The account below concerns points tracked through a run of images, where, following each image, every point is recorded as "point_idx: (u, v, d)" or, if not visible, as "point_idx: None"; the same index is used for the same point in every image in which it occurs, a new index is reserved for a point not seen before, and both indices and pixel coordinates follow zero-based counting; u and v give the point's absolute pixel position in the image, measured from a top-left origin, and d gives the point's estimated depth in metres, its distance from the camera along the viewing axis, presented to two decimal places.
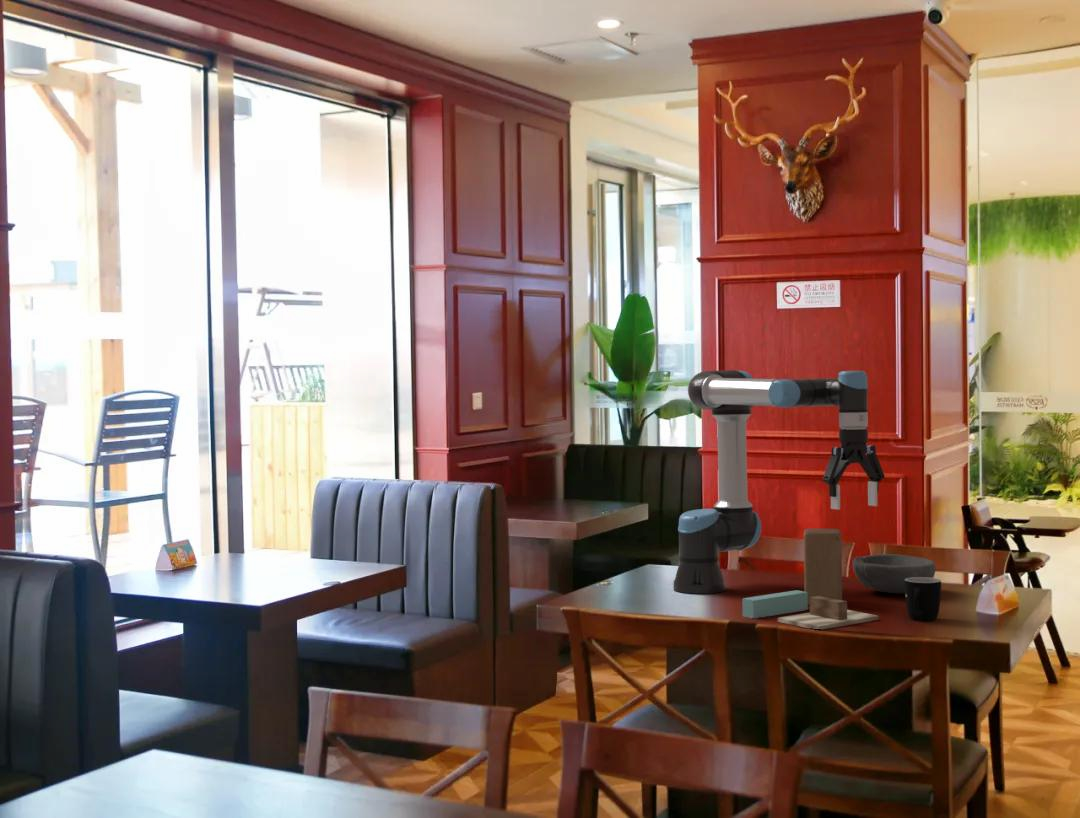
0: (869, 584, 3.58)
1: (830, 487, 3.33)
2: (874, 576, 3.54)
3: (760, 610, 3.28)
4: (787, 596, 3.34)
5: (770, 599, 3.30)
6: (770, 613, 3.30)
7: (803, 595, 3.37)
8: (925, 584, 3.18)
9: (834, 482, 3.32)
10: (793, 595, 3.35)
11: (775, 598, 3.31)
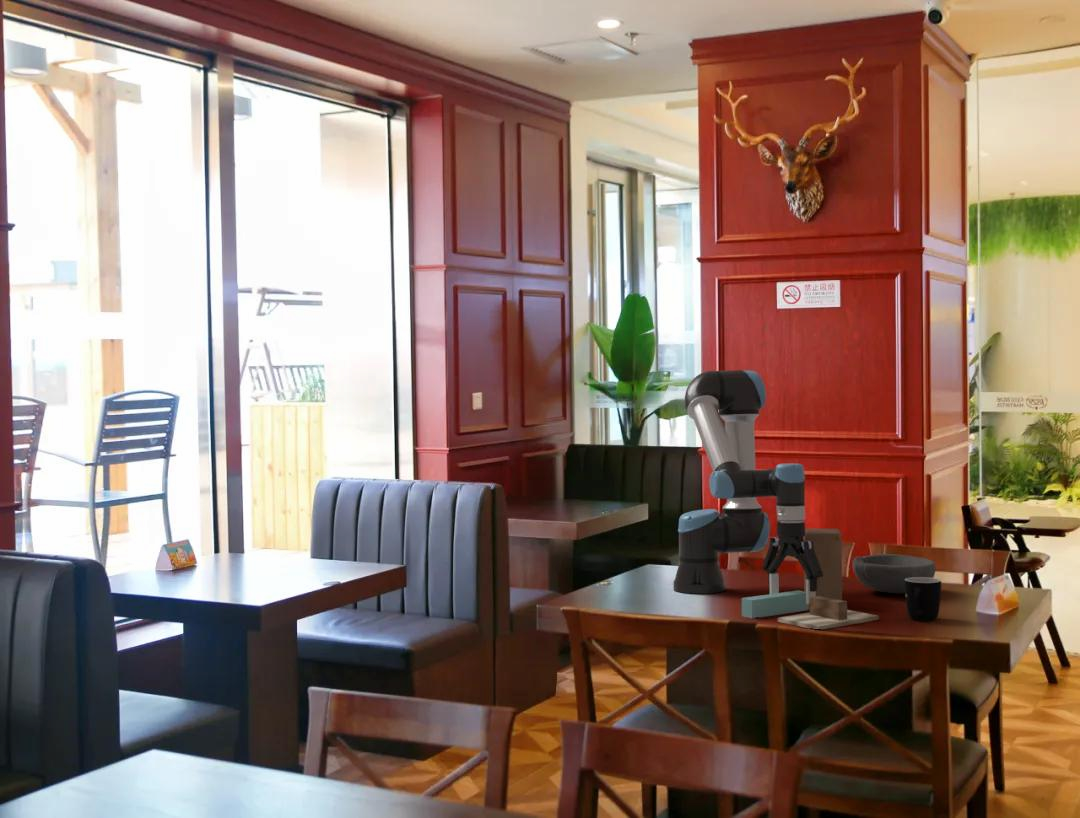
0: (869, 584, 3.58)
1: None
2: (874, 576, 3.54)
3: (759, 609, 3.28)
4: (787, 596, 3.34)
5: (769, 599, 3.30)
6: (769, 613, 3.30)
7: (804, 595, 3.37)
8: (925, 584, 3.18)
9: (767, 570, 3.43)
10: (793, 595, 3.35)
11: (775, 598, 3.31)
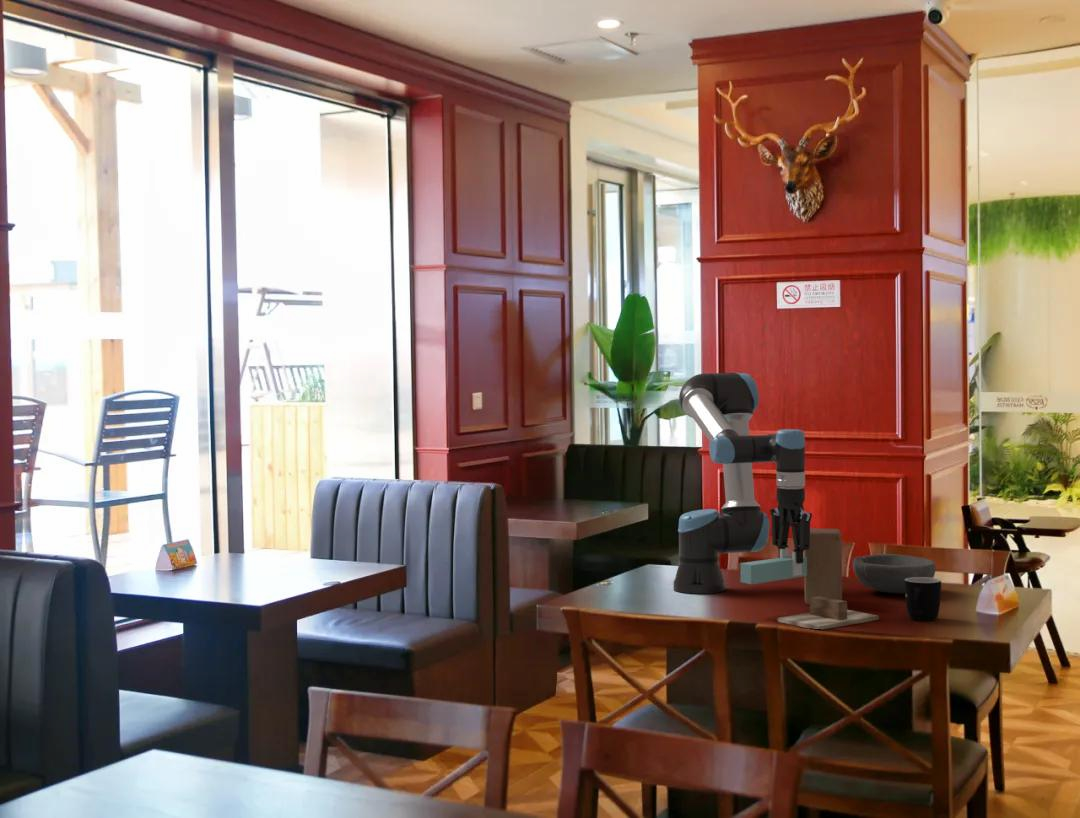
0: (869, 584, 3.58)
1: None
2: (874, 576, 3.54)
3: (758, 574, 3.29)
4: (786, 561, 3.34)
5: (768, 564, 3.30)
6: (768, 578, 3.31)
7: None
8: (925, 584, 3.18)
9: (778, 546, 3.40)
10: None
11: (773, 563, 3.31)
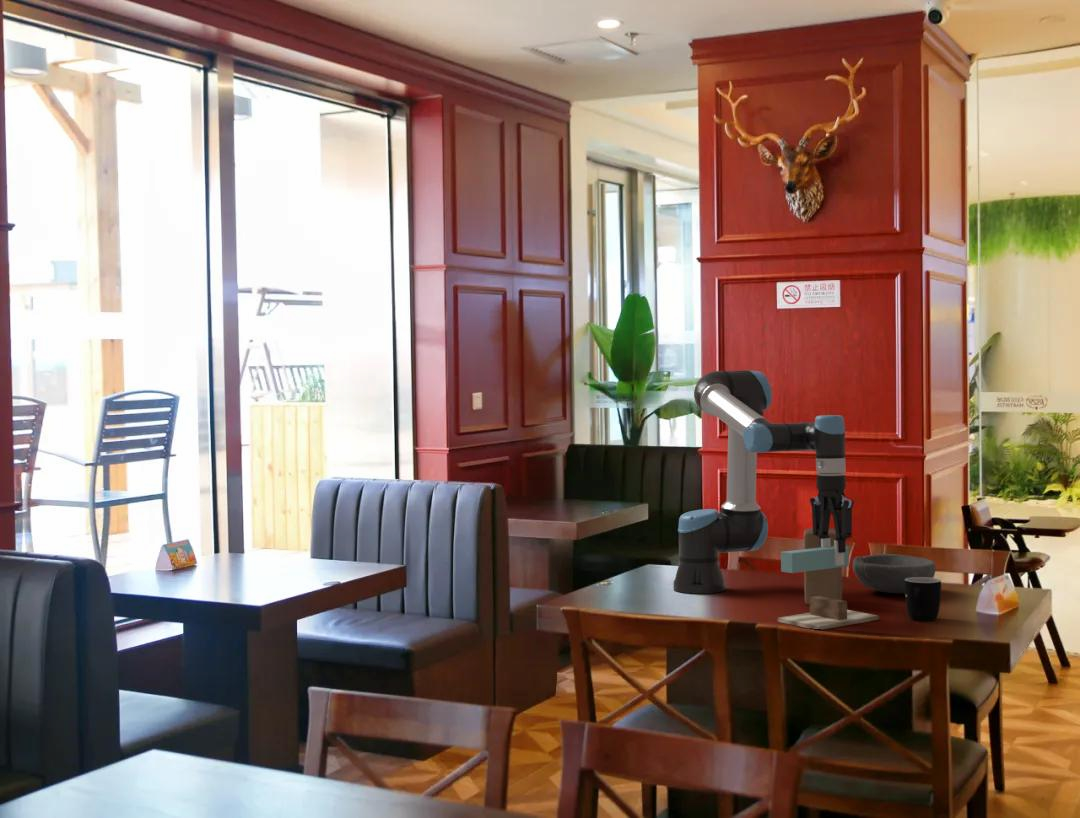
0: (869, 584, 3.58)
1: None
2: (874, 576, 3.54)
3: (799, 563, 3.18)
4: (827, 550, 3.24)
5: (810, 552, 3.20)
6: (809, 567, 3.20)
7: None
8: (925, 584, 3.18)
9: (818, 536, 3.30)
10: (833, 549, 3.25)
11: (815, 552, 3.21)
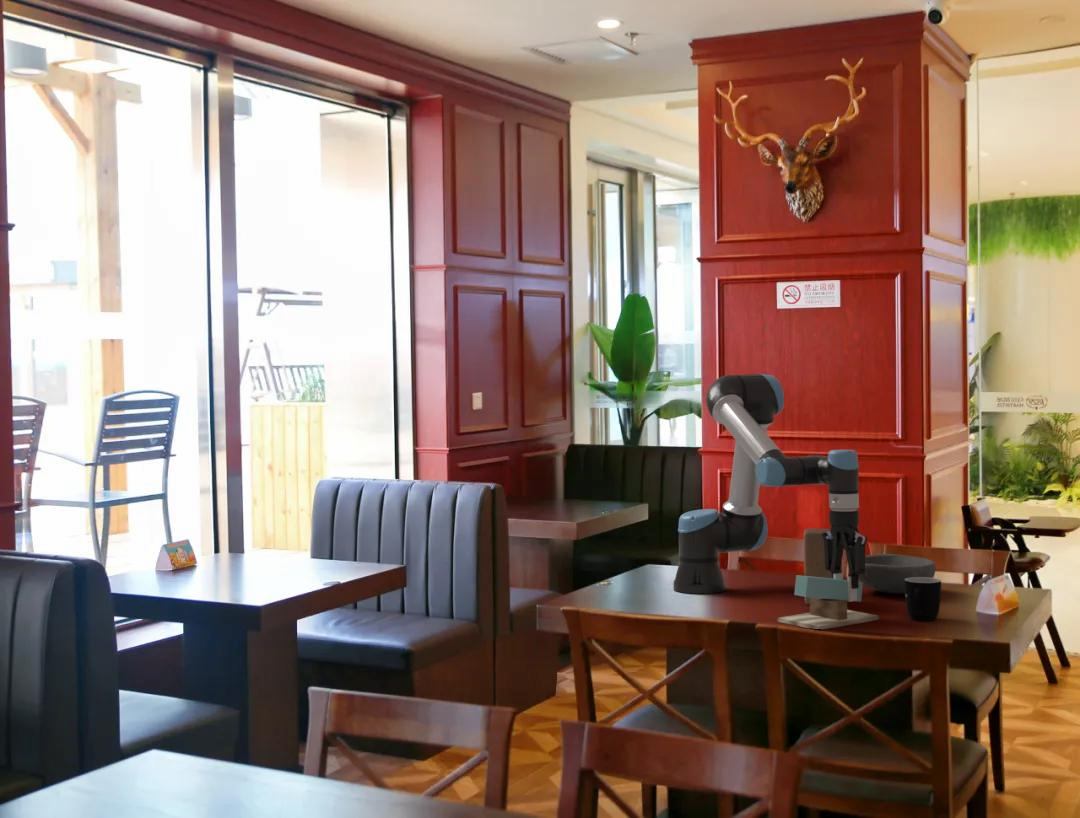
0: (869, 584, 3.58)
1: None
2: (874, 576, 3.54)
3: (813, 588, 3.17)
4: (842, 581, 3.22)
5: (825, 580, 3.19)
6: (823, 595, 3.18)
7: None
8: (925, 584, 3.18)
9: (831, 571, 3.28)
10: None
11: (830, 580, 3.20)
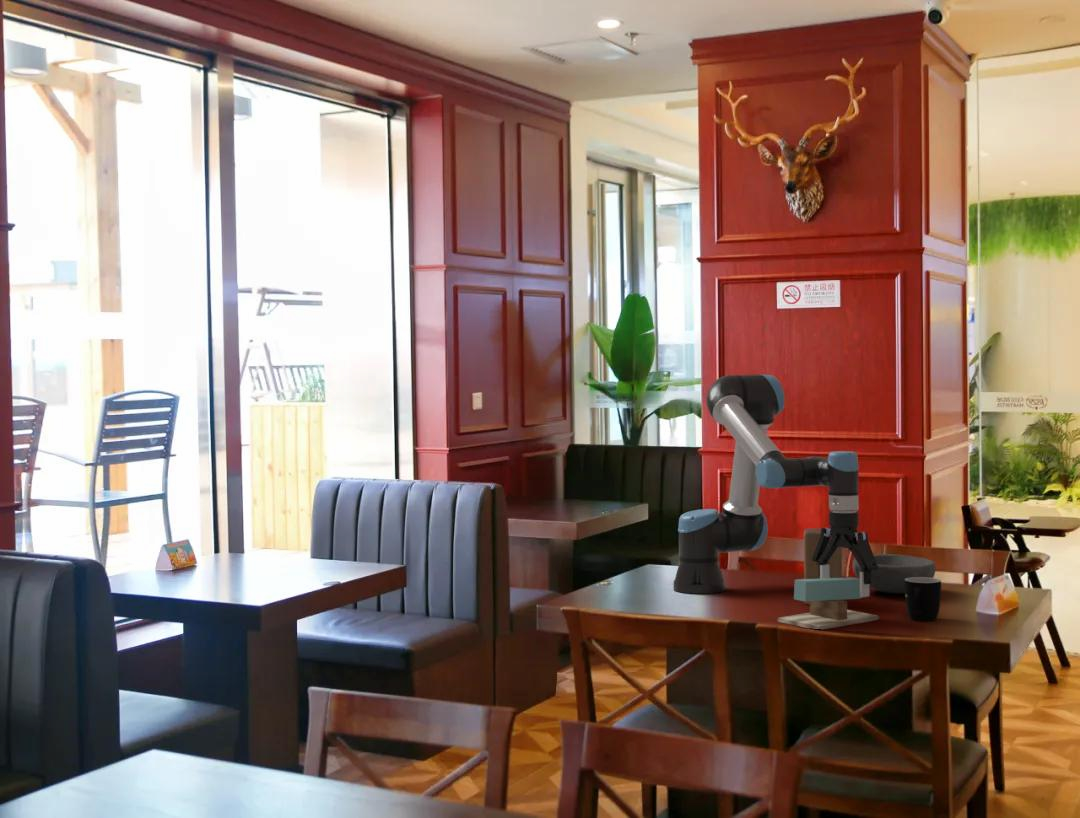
0: (869, 584, 3.58)
1: None
2: (874, 576, 3.54)
3: (812, 592, 3.16)
4: (841, 581, 3.22)
5: (823, 582, 3.18)
6: (822, 597, 3.18)
7: (857, 582, 3.25)
8: (925, 584, 3.18)
9: (817, 562, 3.32)
10: (847, 581, 3.23)
11: (829, 581, 3.19)
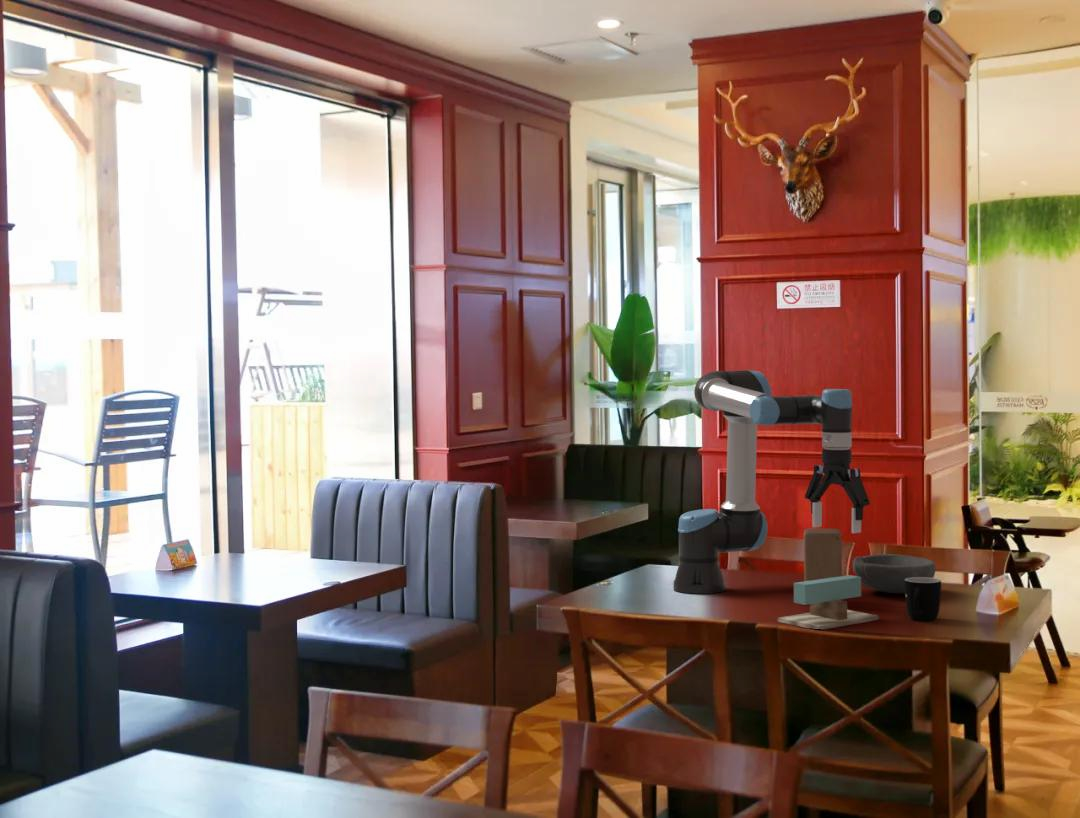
0: (869, 584, 3.58)
1: None
2: (874, 576, 3.54)
3: (812, 595, 3.16)
4: (840, 581, 3.22)
5: (822, 584, 3.18)
6: (822, 598, 3.18)
7: (856, 580, 3.25)
8: (925, 584, 3.18)
9: (810, 499, 3.34)
10: (846, 580, 3.23)
11: (828, 583, 3.19)
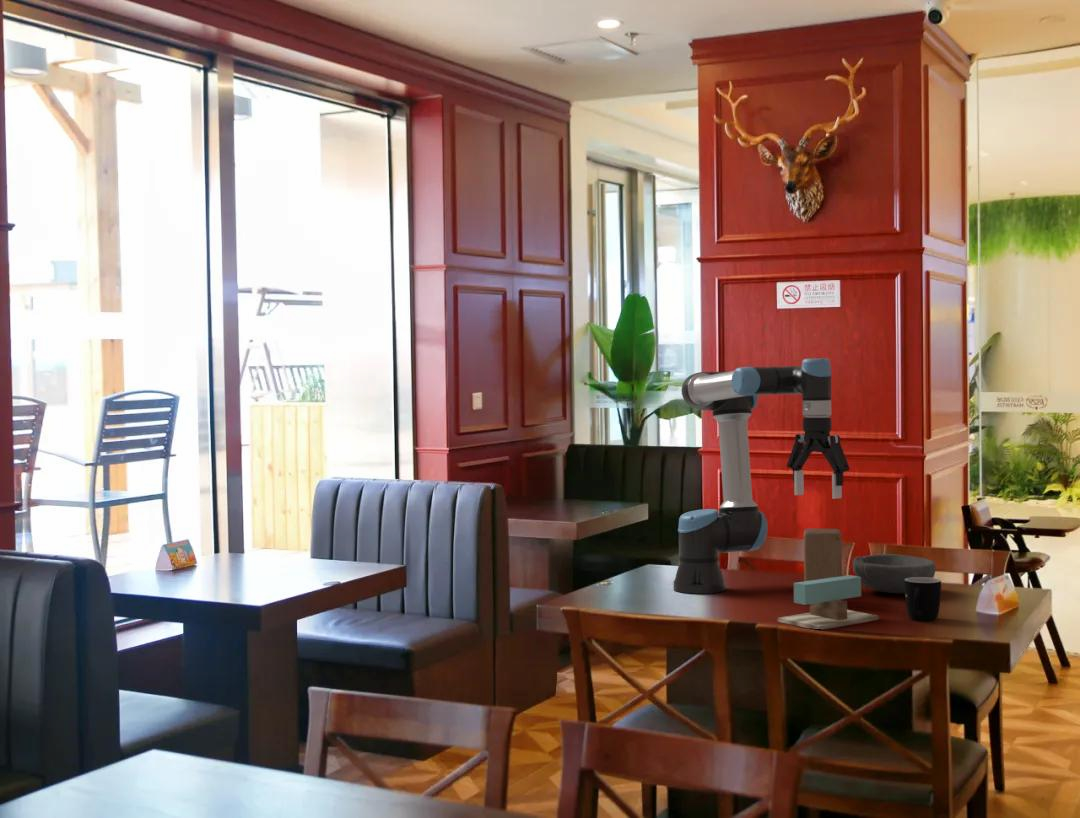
0: (869, 584, 3.58)
1: None
2: (874, 576, 3.54)
3: (812, 595, 3.16)
4: (840, 581, 3.22)
5: (822, 584, 3.18)
6: (822, 598, 3.18)
7: (856, 580, 3.25)
8: (925, 584, 3.18)
9: (792, 468, 3.40)
10: (846, 580, 3.23)
11: (828, 583, 3.19)
